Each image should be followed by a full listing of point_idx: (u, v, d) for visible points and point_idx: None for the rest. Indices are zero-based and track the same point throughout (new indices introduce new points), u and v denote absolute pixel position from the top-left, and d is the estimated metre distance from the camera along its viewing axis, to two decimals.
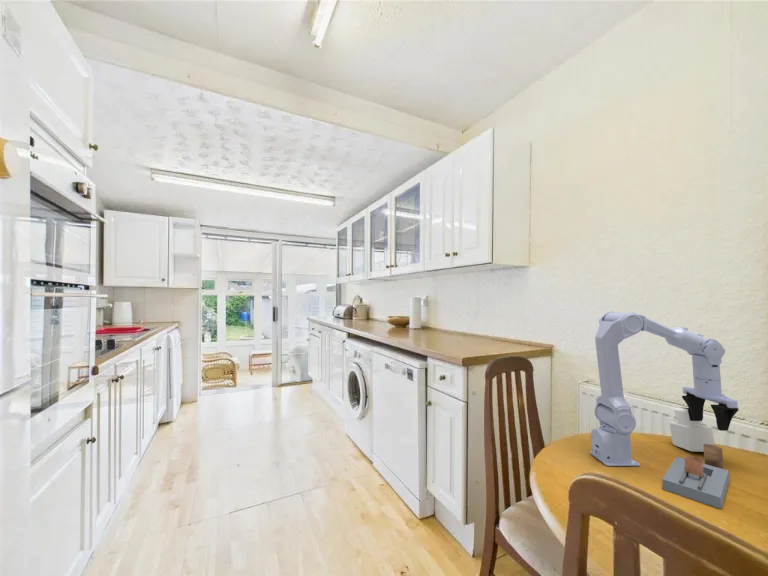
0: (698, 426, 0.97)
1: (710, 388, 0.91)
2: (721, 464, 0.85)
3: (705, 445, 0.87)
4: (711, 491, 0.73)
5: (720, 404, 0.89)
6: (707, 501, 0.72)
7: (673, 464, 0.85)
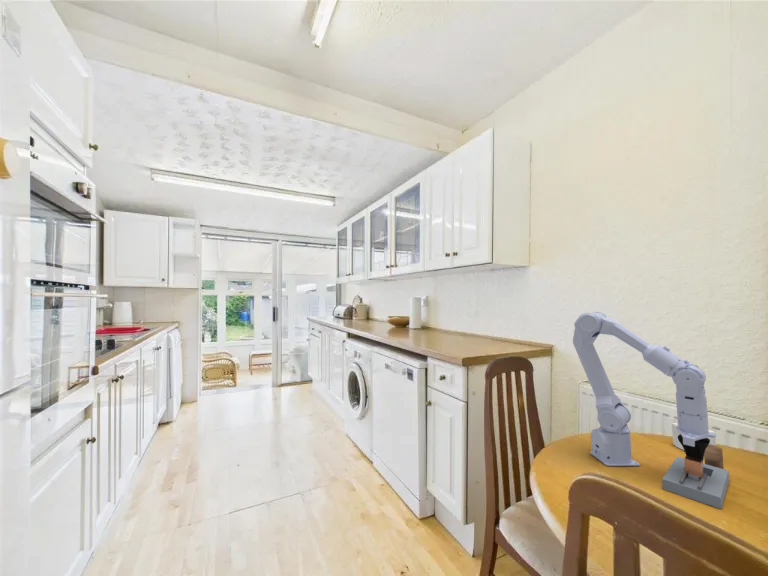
0: None
1: (683, 422, 0.81)
2: (721, 464, 0.85)
3: None
4: (711, 491, 0.73)
5: None
6: (707, 501, 0.72)
7: (673, 464, 0.85)
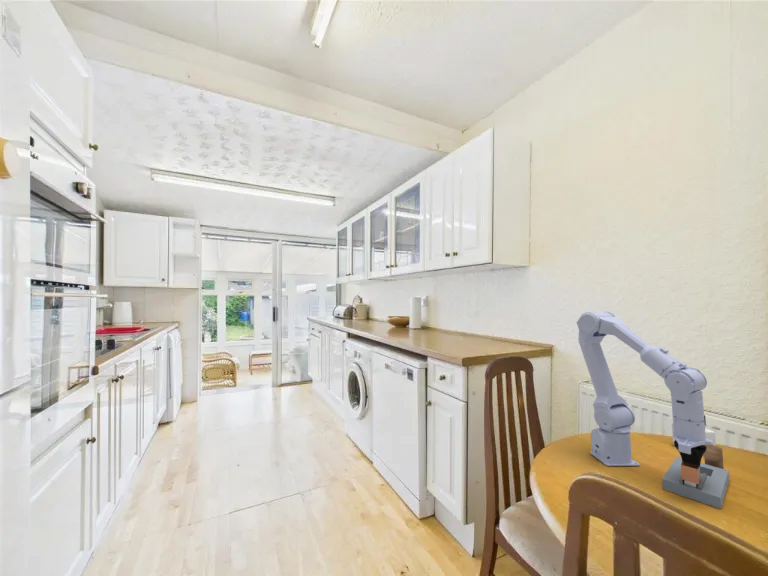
0: None
1: (679, 428, 0.77)
2: (721, 464, 0.85)
3: (705, 445, 0.87)
4: (711, 491, 0.73)
5: None
6: (707, 501, 0.72)
7: (673, 464, 0.85)
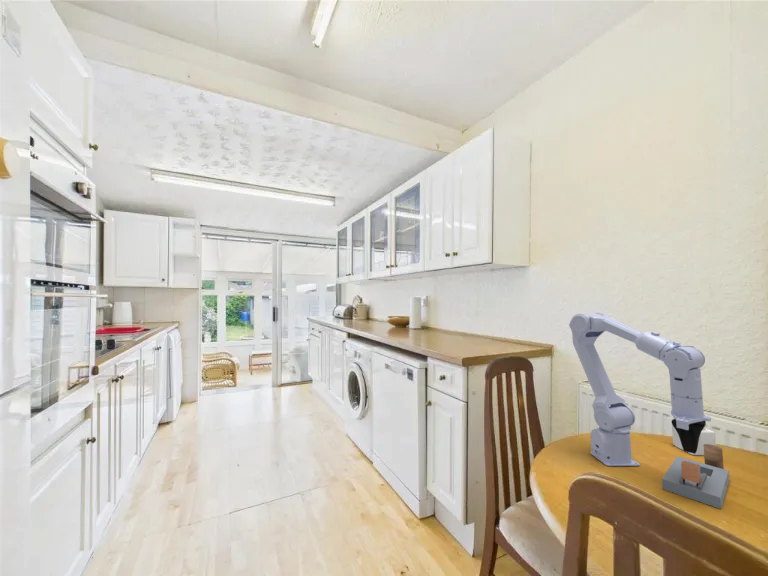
0: None
1: (677, 405, 0.77)
2: (721, 464, 0.85)
3: (705, 445, 0.87)
4: (711, 491, 0.73)
5: None
6: (707, 501, 0.72)
7: (673, 464, 0.85)
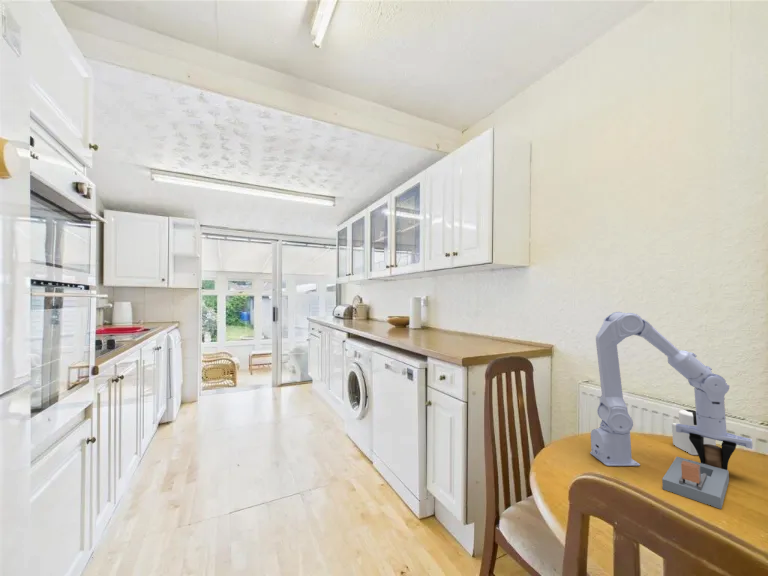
0: None
1: (723, 427, 0.84)
2: (721, 464, 0.85)
3: (705, 445, 0.87)
4: (711, 491, 0.73)
5: (735, 444, 0.83)
6: (707, 501, 0.72)
7: (673, 464, 0.85)
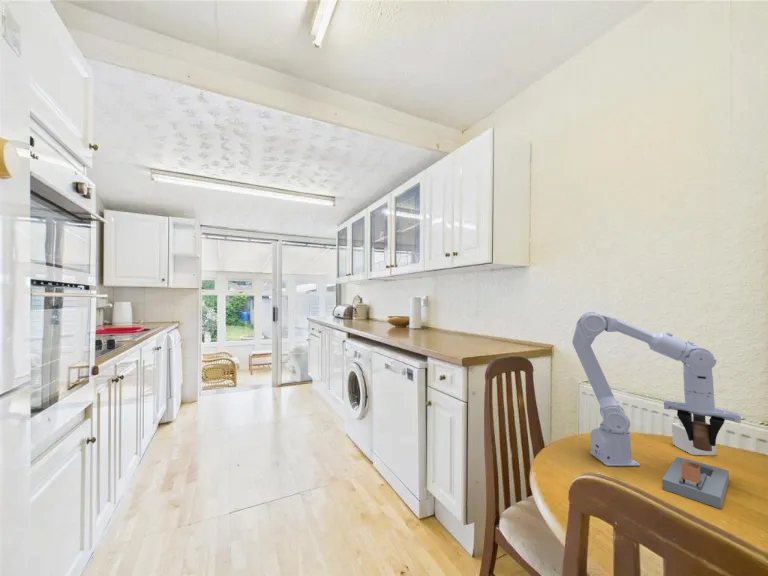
0: None
1: (711, 402, 0.82)
2: (709, 440, 0.83)
3: (693, 422, 0.86)
4: (711, 491, 0.73)
5: (724, 419, 0.81)
6: (707, 501, 0.72)
7: (673, 464, 0.85)
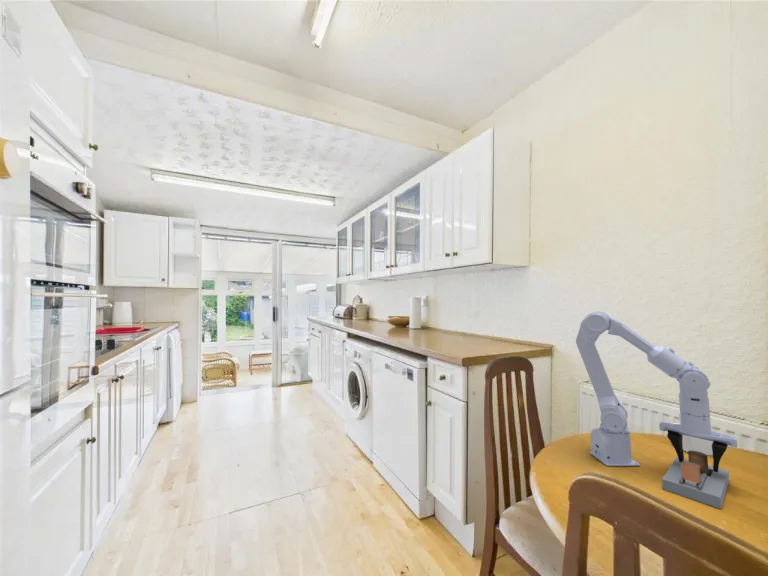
0: None
1: (707, 426, 0.80)
2: (706, 472, 0.81)
3: (690, 451, 0.84)
4: (711, 491, 0.73)
5: (720, 443, 0.79)
6: (707, 501, 0.72)
7: (673, 464, 0.85)
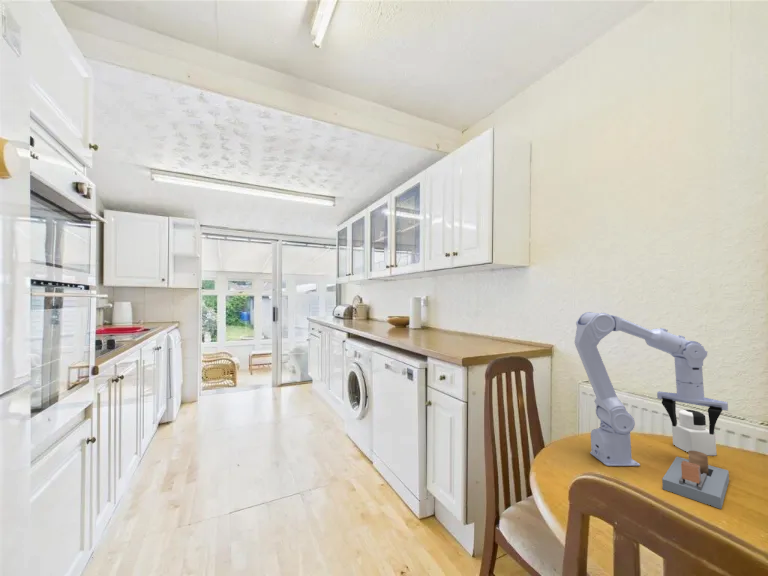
0: (701, 430, 0.96)
1: (701, 392, 0.88)
2: (706, 472, 0.81)
3: (690, 452, 0.84)
4: (711, 491, 0.73)
5: (712, 407, 0.87)
6: (707, 501, 0.72)
7: (673, 464, 0.85)
